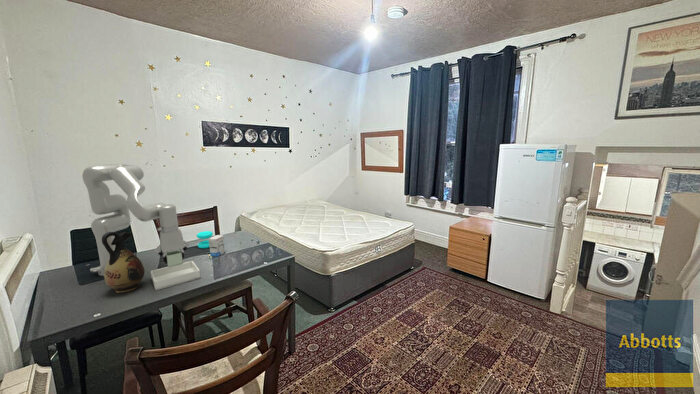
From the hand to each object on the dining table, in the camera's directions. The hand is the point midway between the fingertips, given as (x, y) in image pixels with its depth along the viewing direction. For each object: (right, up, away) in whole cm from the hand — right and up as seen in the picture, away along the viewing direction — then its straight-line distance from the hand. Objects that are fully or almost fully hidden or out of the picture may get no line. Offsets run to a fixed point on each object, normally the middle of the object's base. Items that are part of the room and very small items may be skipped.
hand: (174, 261), depth 147 cm
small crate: (0, -1, 0) cm, 1 cm away
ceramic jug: (-19, -12, -9) cm, 24 cm away
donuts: (-8, -1, +48) cm, 49 cm away
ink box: (+6, -4, +35) cm, 36 cm away
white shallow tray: (0, -10, +2) cm, 10 cm away
